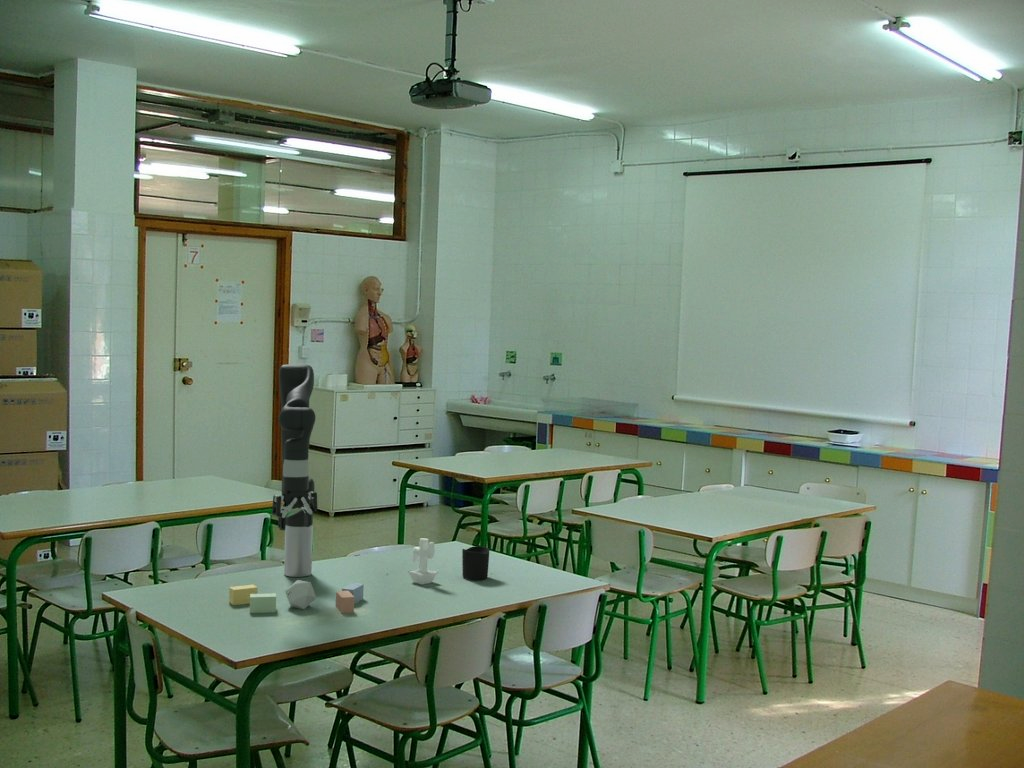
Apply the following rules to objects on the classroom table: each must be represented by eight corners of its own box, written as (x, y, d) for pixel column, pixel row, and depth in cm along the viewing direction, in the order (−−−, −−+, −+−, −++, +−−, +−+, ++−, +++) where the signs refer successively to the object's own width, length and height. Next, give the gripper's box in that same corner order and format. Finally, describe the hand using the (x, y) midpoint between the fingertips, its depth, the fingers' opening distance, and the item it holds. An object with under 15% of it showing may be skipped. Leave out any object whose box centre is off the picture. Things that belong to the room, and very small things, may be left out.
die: (289, 604, 308) (277, 584, 302) (314, 589, 310) (302, 568, 305) (298, 620, 301) (286, 599, 296) (323, 604, 304) (312, 584, 298)
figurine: (421, 578, 344) (423, 534, 343) (439, 583, 337) (441, 539, 336) (405, 581, 339) (406, 537, 338) (423, 586, 332) (424, 542, 331)
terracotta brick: (341, 613, 298) (341, 597, 298) (335, 606, 305) (335, 591, 305) (353, 612, 300) (354, 596, 299) (347, 606, 307) (348, 590, 306)
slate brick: (341, 603, 309) (341, 588, 308) (352, 597, 316) (352, 582, 316) (352, 605, 308) (353, 589, 307) (363, 599, 315) (363, 584, 315)
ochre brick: (229, 602, 306) (229, 587, 305) (253, 599, 310) (253, 584, 310) (232, 605, 303) (233, 590, 302) (257, 602, 307) (257, 587, 306)
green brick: (250, 609, 299) (250, 593, 299) (275, 609, 301) (276, 593, 300) (249, 613, 295) (250, 597, 295) (275, 612, 297) (276, 596, 297)
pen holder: (490, 581, 343) (491, 552, 343) (462, 581, 342) (463, 552, 341) (486, 574, 352) (487, 546, 352) (460, 574, 351) (461, 546, 351)
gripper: (308, 471, 305) (307, 523, 306) (268, 474, 295) (266, 529, 295) (323, 473, 300) (321, 527, 300) (282, 477, 289) (281, 533, 290)
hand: (294, 528), depth 298 cm, fingers open, 8 cm apart
